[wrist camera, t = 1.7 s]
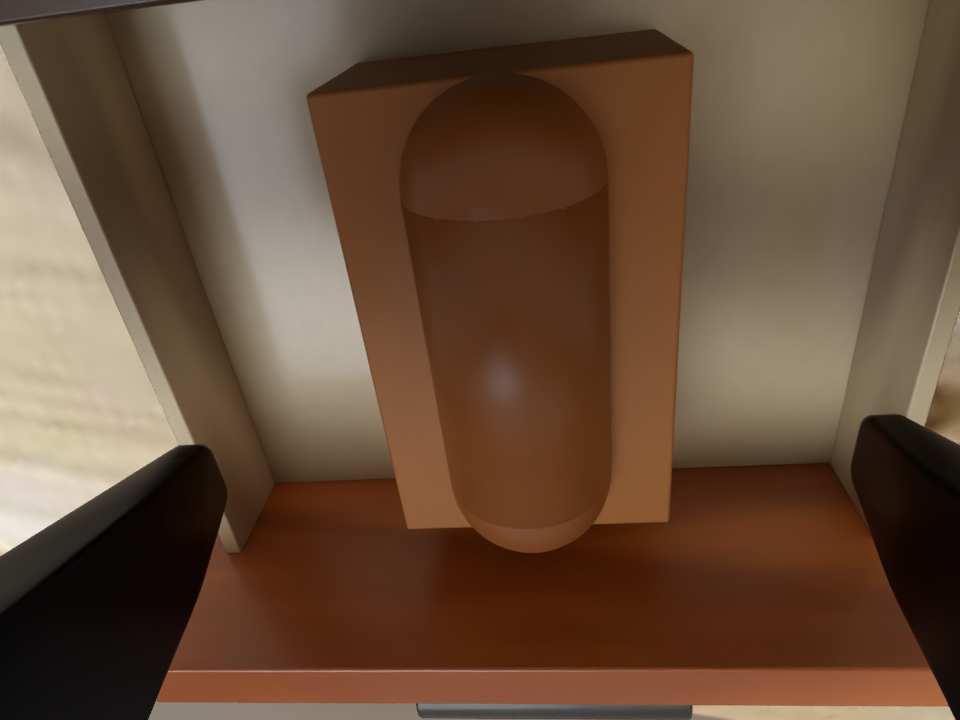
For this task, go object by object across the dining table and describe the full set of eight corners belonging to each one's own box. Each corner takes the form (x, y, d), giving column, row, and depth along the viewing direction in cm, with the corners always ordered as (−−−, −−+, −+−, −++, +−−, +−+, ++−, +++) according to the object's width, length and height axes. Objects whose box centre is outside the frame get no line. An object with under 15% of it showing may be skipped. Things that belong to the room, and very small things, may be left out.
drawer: (830, 589, 20) (937, 820, 14) (295, 597, 22) (218, 802, 17) (1085, -447, 9) (1877, -1022, 4) (-29, -241, 11) (-556, -421, 6)
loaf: (647, 429, 16) (685, 587, 12) (427, 438, 17) (393, 591, 13) (658, 27, 12) (724, 68, 8) (354, 62, 12) (265, 116, 8)
